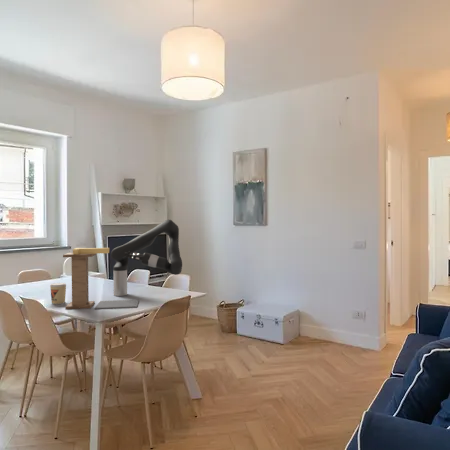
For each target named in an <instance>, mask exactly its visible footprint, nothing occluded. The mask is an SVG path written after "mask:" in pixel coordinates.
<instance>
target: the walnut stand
mask: <svg viewBox="0 0 450 450" xmlns="http://www.w3.org/2000/svg"><path fill="white" fill-rule="evenodd" d="M96 255H97V253H95V254H73V252H67V253H64V254H63V255H62V258H71V301H70V302H69V303H68V304H66V306H65V310H79V309H80V310H82V309H83V310H84V309H85V310H86V309H91V308H92V307H93V306H94V305H95V300H89V258H92V257H93V256H96Z"/></svg>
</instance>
